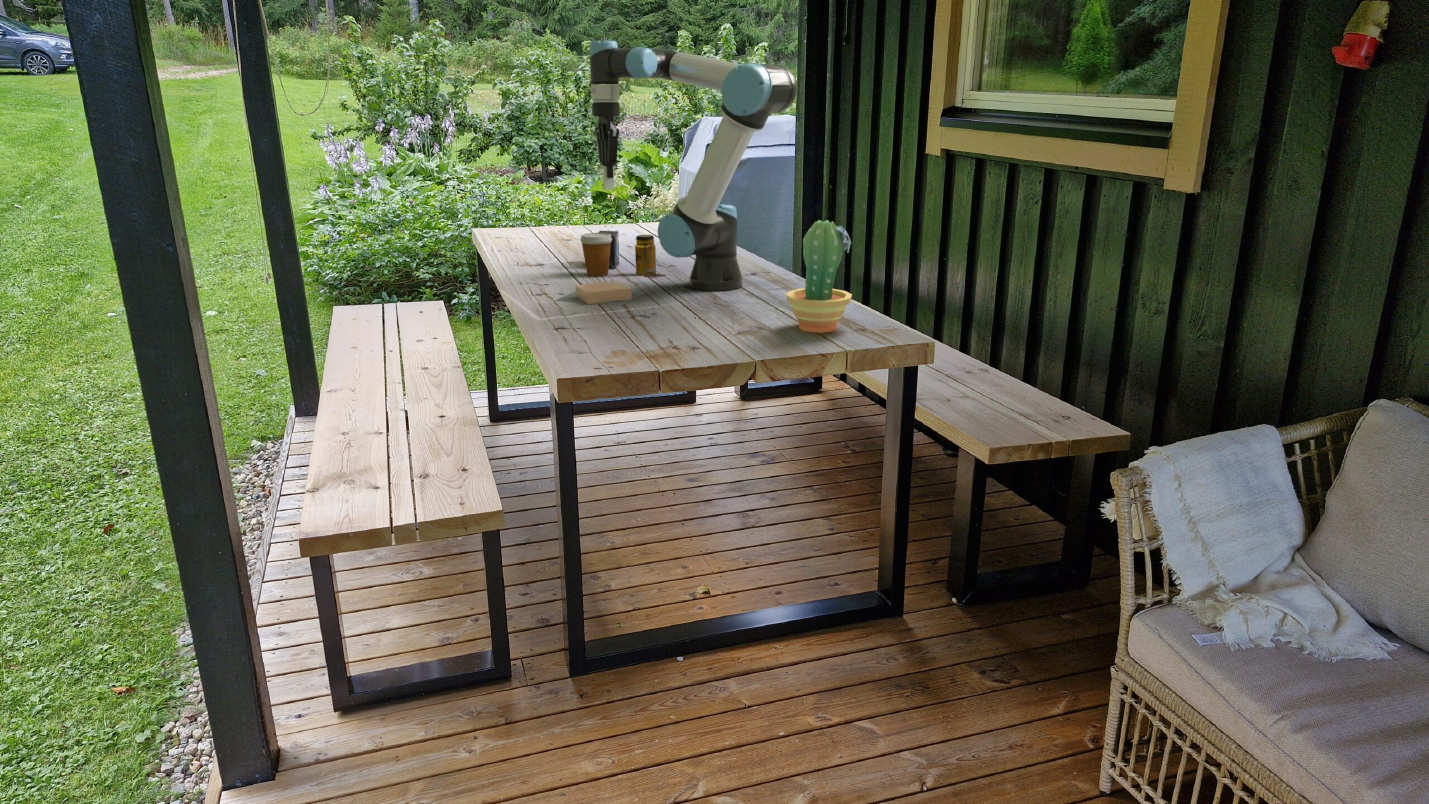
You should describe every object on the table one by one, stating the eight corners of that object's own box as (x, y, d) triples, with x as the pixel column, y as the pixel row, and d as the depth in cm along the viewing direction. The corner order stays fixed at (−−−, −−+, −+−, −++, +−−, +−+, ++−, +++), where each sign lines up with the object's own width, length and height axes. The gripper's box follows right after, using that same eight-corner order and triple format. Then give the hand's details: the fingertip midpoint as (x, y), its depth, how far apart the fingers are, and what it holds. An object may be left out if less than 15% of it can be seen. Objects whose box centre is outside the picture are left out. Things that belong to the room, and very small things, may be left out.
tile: (575, 285, 245) (587, 292, 237) (617, 281, 250) (631, 288, 242) (575, 297, 246) (588, 304, 238) (617, 292, 252) (631, 300, 243)
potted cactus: (836, 339, 208) (840, 227, 199) (774, 331, 215) (776, 222, 207) (860, 324, 220) (865, 219, 212) (801, 317, 228) (804, 214, 219)
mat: (646, 294, 252) (646, 292, 252) (620, 308, 237) (620, 305, 237) (583, 290, 258) (583, 287, 258) (554, 302, 243) (554, 300, 242)
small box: (616, 269, 287) (615, 235, 283) (595, 269, 287) (594, 235, 283) (620, 263, 297) (619, 230, 293) (600, 263, 297) (598, 230, 293)
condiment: (630, 275, 278) (629, 235, 274) (653, 272, 283) (653, 232, 279) (643, 279, 272) (642, 238, 268) (667, 275, 277) (666, 235, 273)
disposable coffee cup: (611, 278, 274) (610, 237, 270) (579, 278, 274) (577, 237, 270) (615, 271, 283) (613, 232, 279) (584, 271, 283) (582, 232, 279)
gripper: (584, 101, 255) (588, 188, 263) (600, 102, 244) (604, 192, 252) (610, 101, 258) (613, 186, 266) (627, 101, 247) (630, 191, 255)
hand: (609, 189), depth 259 cm, fingers closed
